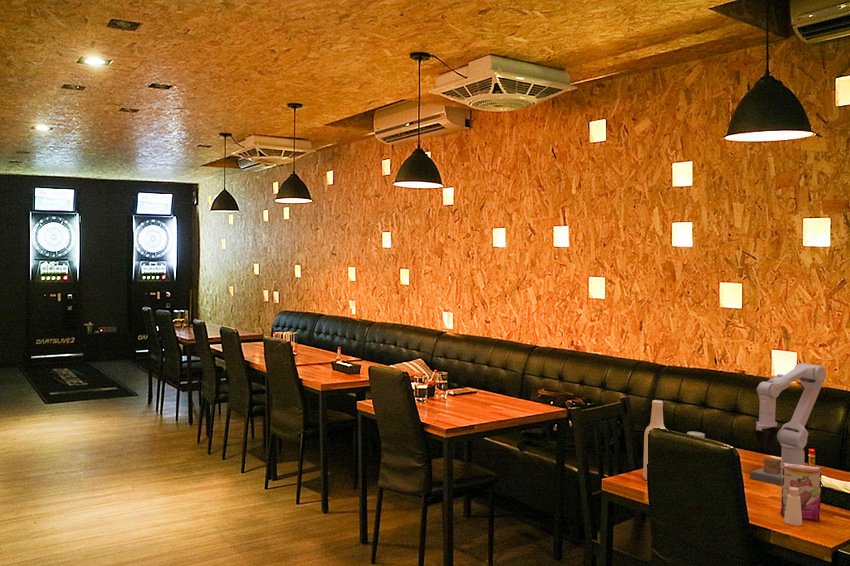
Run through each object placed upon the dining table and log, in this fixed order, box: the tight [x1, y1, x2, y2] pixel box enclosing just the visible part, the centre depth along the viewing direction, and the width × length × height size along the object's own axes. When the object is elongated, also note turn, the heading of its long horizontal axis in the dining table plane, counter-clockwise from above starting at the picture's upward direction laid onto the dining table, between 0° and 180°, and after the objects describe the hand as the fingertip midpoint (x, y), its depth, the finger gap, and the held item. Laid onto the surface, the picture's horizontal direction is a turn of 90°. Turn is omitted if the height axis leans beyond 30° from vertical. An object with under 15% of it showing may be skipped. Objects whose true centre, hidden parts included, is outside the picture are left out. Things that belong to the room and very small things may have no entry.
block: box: [763, 456, 782, 475], centre depth 268 cm, size 4×4×5 cm
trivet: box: [749, 466, 782, 487], centre depth 268 cm, size 12×12×3 cm
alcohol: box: [642, 399, 668, 481], centre depth 264 cm, size 9×9×30 cm
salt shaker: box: [783, 487, 803, 526], centre depth 221 cm, size 5×5×11 cm
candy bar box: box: [780, 463, 822, 522], centre depth 227 cm, size 11×5×16 cm, turn 65°
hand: (765, 446), depth 278 cm, fingers open, 7 cm apart
